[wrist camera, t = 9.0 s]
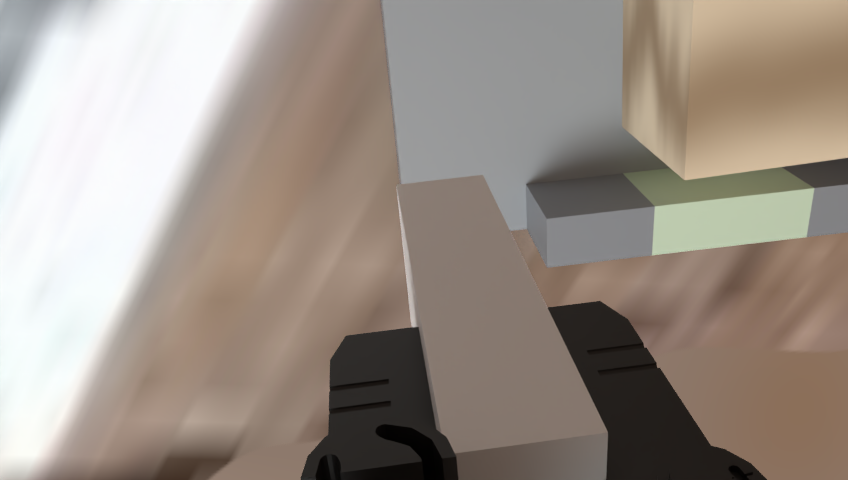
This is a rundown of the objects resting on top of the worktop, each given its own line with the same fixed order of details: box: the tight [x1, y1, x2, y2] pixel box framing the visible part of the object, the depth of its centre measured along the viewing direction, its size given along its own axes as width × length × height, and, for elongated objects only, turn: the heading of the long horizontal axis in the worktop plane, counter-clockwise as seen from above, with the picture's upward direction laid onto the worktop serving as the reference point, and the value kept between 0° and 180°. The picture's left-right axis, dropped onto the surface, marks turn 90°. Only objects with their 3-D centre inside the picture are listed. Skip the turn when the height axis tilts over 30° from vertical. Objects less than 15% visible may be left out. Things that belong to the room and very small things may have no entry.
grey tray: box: [381, 0, 848, 268], centre depth 27 cm, size 14×21×6 cm, turn 95°
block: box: [622, 0, 848, 180], centre depth 25 cm, size 6×6×6 cm
